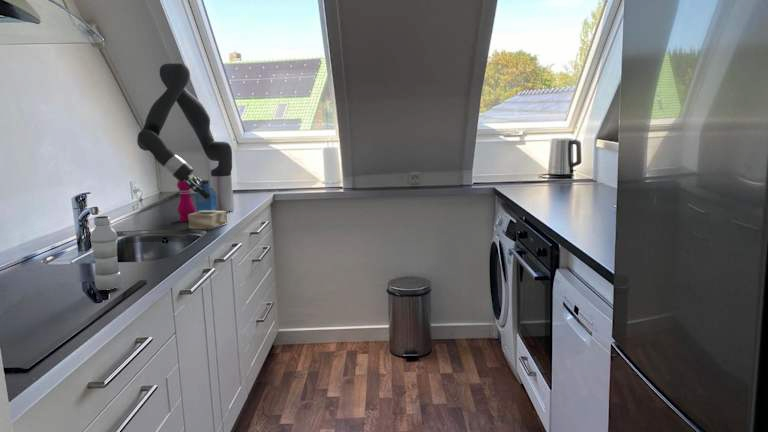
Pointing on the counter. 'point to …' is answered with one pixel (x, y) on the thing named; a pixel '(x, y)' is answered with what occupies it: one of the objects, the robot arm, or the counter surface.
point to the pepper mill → (185, 201)
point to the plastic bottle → (105, 254)
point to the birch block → (207, 219)
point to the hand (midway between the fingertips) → (209, 195)
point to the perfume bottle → (210, 201)
